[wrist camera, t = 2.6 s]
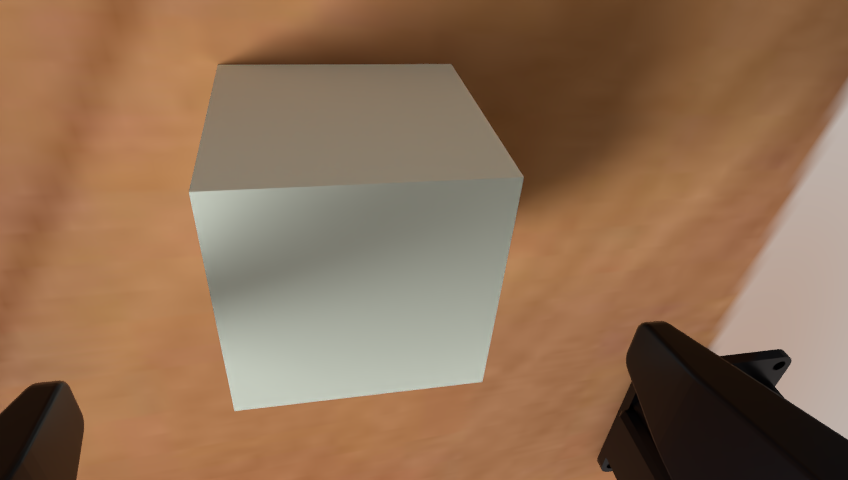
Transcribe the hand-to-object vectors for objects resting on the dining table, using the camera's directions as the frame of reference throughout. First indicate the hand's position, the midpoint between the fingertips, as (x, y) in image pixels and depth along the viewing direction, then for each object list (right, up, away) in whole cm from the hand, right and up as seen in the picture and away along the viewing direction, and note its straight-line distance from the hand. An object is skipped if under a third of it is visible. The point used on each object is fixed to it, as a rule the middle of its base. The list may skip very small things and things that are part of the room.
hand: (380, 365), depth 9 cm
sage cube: (-1, +4, +5) cm, 6 cm away
